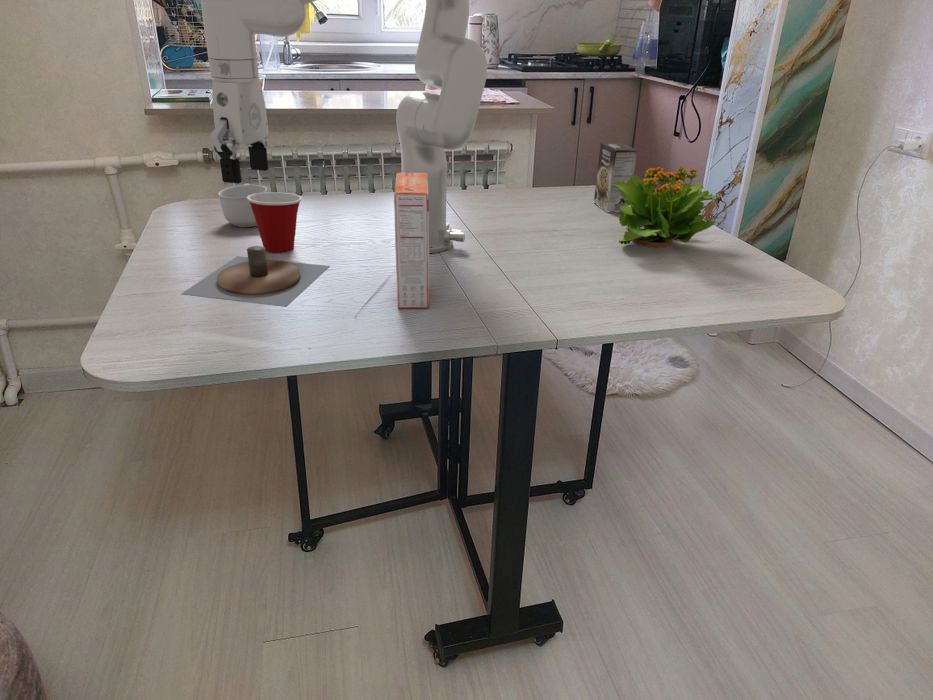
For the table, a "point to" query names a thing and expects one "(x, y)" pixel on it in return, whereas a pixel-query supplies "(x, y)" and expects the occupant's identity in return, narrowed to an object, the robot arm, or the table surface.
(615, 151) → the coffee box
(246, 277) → the lid
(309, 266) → the mat
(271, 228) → the plastic cup
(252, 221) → the teacup
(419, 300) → the cracker box
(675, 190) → the potted flower
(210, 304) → the table surface
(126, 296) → the table surface
